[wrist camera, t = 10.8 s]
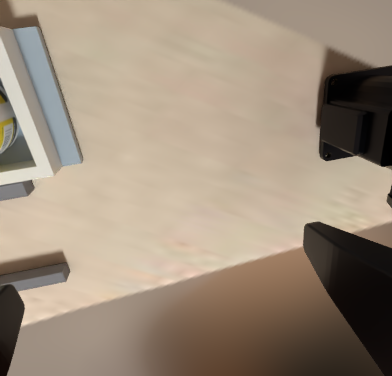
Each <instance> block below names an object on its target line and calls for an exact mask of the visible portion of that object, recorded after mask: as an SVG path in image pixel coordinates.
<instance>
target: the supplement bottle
mask: <svg viewBox="0 0 392 376" xmlns="http://www.w3.org/2000/svg"><path fill="white" fill-rule="evenodd" d="M18 132H19V122H18V120H17V117H16V115H15V112H14V110H13V107H12V105H11V103H10V100H9V98H8V95H7V93H6V91H5V90H4V89H3V88H2V87H1V86H0V154H1V153H3V152H4V151H6V150H7V149H8V148H9V147H10V146H11V145H12V144H13V143H14V141H15V139H16V137H17V135H18Z"/></svg>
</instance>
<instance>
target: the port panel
mask: <svg viewBox="0 0 392 376" xmlns="http://www.w3.org/2000/svg"><path fill="white" fill-rule="evenodd" d="M0 86H1V87H2V88H3V89H4V90H5V91H6V93H7V95H8V98H9V100H10V103H11V105H12V107H13V110H14V112H15V115H16V117H17V120H18V122H19V132H18V135H17V137H16V139H15V141H14V143H13V144H12V145H11V146H10V147H9V148H8V149H7V150H6V151H4V152H3V153H1V154H0V185H4V184H10V183H16V182H22V181H27V180H33V179H39V178H45V177H51V176H55V174H56V173H57V172H58V171H59V170H60V169H61V168H62V167H63V166H68V165H74V164H80V163H82V162H83V158H82V155H81V152H80V149H79V146H78V143H77V140H76V137H75V134H74V131H73V127H72V124H71V121H70V118H69V115H68V112H67V109H66V106H65V103H64V100H63V97H62V94H61V91H60V88H59V85H58V82H57V79H56V76H55V73H54V70H53V66H52V63H51V60H50V57H49V54H48V51H47V48H46V45H45V42H44V39H43V36H42V33H41V30H40V27H37V26H34V27H26V28H18V29H9V28H6V27H2V26H0Z"/></svg>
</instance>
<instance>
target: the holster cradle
mask: <svg viewBox="0 0 392 376" xmlns="http://www.w3.org/2000/svg"><path fill="white" fill-rule="evenodd" d="M33 190H34V186H33V184H32V182H31V180H27V181H22V182H16V183H10V184H4V185H0V201H2V200H8V199H14V198H19V197H25V196H28V195H29V194H30V193H31V192H32V191H33ZM69 273H70V270H69V268H68V265H67V263H62V264H57V265H52V266H46V267H41V268H36V269H31V270H26V271H21V272H16V273H11V274H6V275H1V276H0V285H4V284H12V285H14V287H15V288H16V290H17V291H22V290H27V289H32V288H37V287H42V286H47V285H52V284H57V283H62V282H66V281H67V278H68V276H69Z"/></svg>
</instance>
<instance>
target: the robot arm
mask: <svg viewBox="0 0 392 376" xmlns="http://www.w3.org/2000/svg"><path fill="white" fill-rule="evenodd" d="M333 79H334V80H335V82H334V84H333V85H332V84H331V82H332V80H333ZM320 139H321V145H320V157H321V159H323V160H325V161H330V160H336V159H341V158H347V157H352V156H359V157H361V158H363V159H366V160H368V161H370V162H372V163H375V164H377V165H379V166H382V167H387V168H389V169H391V170H392V66H385V67H379V68H373V69H366V70H360V71H353V72H347V73H340V74H334V75H330V76H329V77H327V79H326V81H325V89H324V103H323V107H322V114H321V128H320ZM326 153H328V155H327V156H325V155H326ZM387 203H388V204H389V205H390V206H391V208H392V186H391V191H390V193H389V194H388V196H387ZM303 247H304V250H305V253H306V255H307V257H308V258H309V260H310V262H311V264H312V266H313V268H314V269H315V271H316V273H317V275H318V277H319V279H320V280H321V282H322V284H323V286H324V288H325V289H326V291H327V293H328V294H329V296H330V297H331V299H332V300H333V302H334V303H335V305H336V306H337V308H338V309H339V311H340V312H341V314H342V315H343V316H344V318H345V319H346V321H347V322H348V324H349V325H350V327H351V328H352V330H353V331H354V332H355V334H356V335H357V337H358V338H359V340H360V341H361V342H362V344H363V345H364V347H365V348H366V350H367V351H368V353H369V354H370V356H371V357H372V359H373V360H374V361H375V363H376V364H377V366H378V367H379V369H380V370H381V372H382V373H383V374H384V376H392V248H389V247H387V246H384V245H381V244H378V243H376V242H373V241H370V240H368V239H365V238H362V237H359V236H357V235H354V234H351V233H348V232H346V231H343V230H340V229H337V228H335V227H332V226H329V225H326V224H324V223H321V222H312V223H307V224H306V225H305V226H304V239H303ZM24 310H25V307H24V303H23V301H22V299H21V297H20V295H19V294H18V292H17V290H16V288H15V287H14V285H12V284H4V285H0V376H7V373H8V370H9V367H10V364H11V360H12V357H13V354H14V349H15V346H16V342H17V338H18V334H19V330H20V326H21V323H22V319H23V315H24Z"/></svg>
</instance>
